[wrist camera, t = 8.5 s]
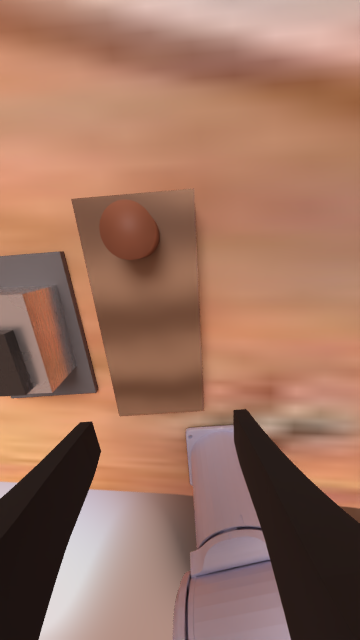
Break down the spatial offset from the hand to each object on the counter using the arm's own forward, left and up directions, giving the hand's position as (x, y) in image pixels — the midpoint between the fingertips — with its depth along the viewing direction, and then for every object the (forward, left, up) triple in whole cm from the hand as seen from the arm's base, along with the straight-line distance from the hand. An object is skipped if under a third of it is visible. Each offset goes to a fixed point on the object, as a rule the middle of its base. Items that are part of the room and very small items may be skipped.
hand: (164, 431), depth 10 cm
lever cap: (+3, +12, -10) cm, 15 cm away
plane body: (+3, +1, -10) cm, 11 cm away
